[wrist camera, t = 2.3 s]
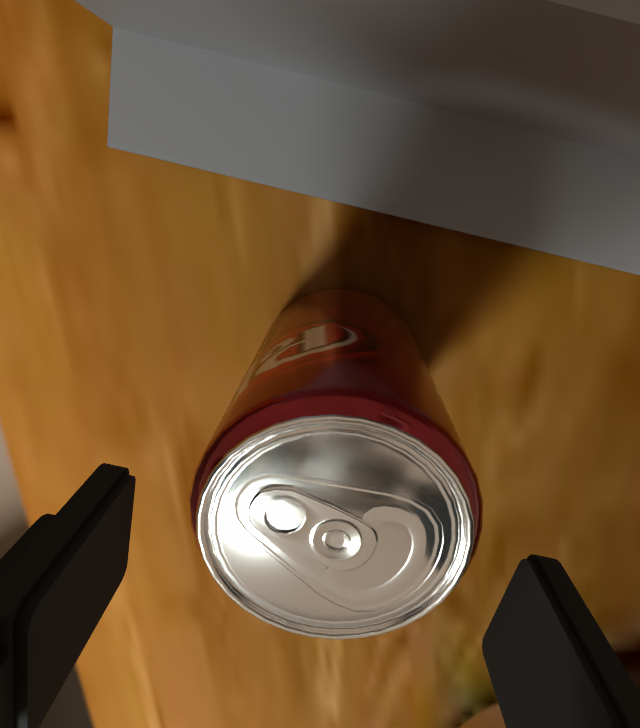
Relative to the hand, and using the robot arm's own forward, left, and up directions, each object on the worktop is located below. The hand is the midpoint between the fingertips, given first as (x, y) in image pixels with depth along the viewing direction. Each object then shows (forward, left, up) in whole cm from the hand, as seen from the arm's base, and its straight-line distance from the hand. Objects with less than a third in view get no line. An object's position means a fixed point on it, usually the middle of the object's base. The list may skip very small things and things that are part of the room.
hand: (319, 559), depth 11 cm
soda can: (-1, 0, -12) cm, 12 cm away
